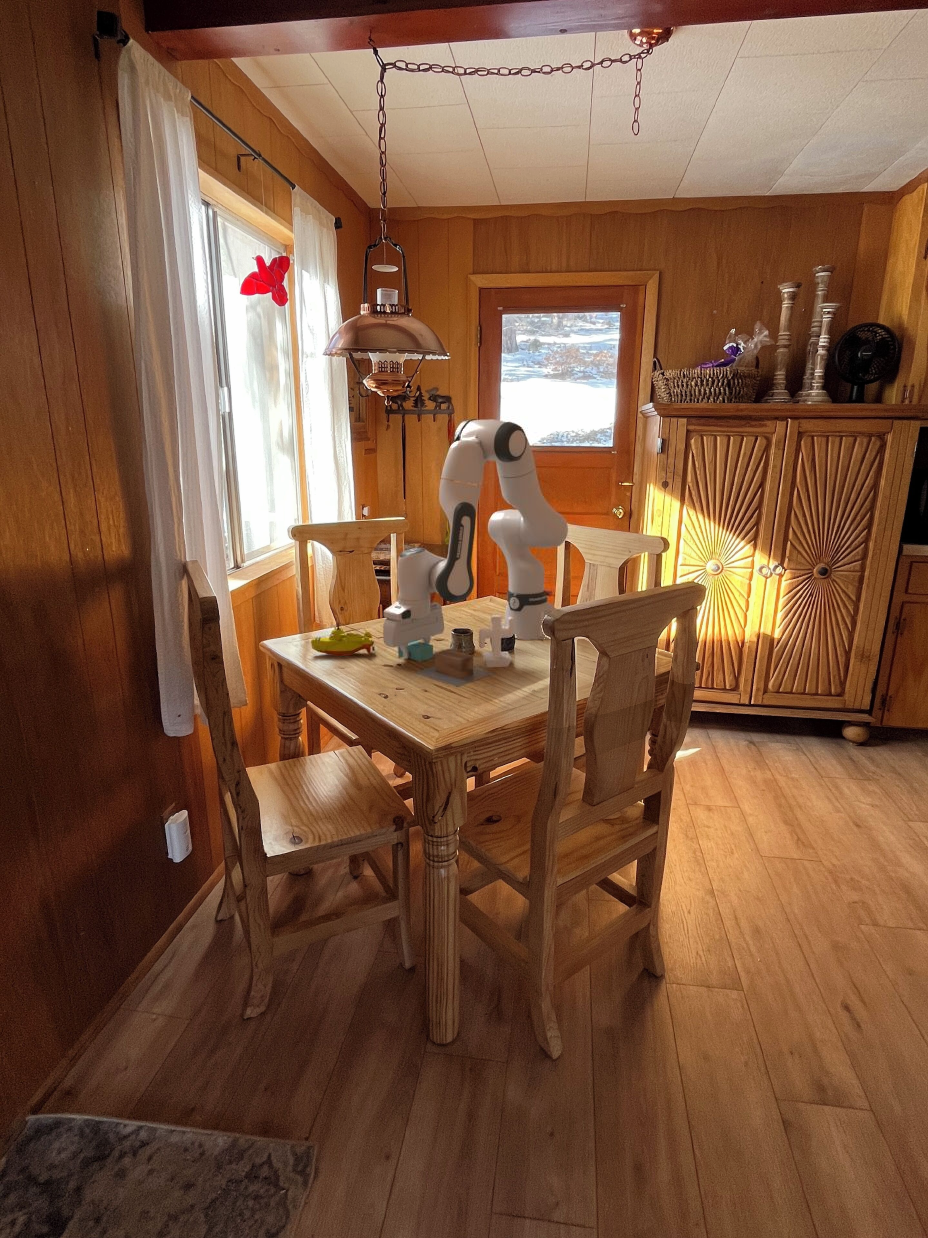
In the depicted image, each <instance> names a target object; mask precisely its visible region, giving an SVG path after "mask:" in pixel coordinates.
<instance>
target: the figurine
mask: <svg viewBox="0 0 928 1238" xmlns="http://www.w3.org/2000/svg"><path fill="white" fill-rule="evenodd" d="M502 617H503V616H502V615H500V614H493V615H491V616H490V622H491V627H482V628H480V629H479V631H478V647H479V648H480V649H484V648H485V646H486V639H491V651H489V652H488V651H485V652H481V655H482V657H483V660H484V663H485V665H486V667H487V668H505V667H507V668H508V667H509V665H510V663H511V662H512V658H511V655H510V653H509V652H508V651H502V644H501V643H502V638H503V639H504V638H510V637H512V636H513V634H514V618H513V617H509V618H508V626H507V627H502V622H503V618H502Z"/></svg>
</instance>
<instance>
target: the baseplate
mask: <svg viewBox="0 0 928 1238" xmlns="http://www.w3.org/2000/svg"><path fill="white" fill-rule="evenodd" d="M413 674H416V675H420V676H423V677H425V678H428V679H431V680H435V681H438V682H441V683H444V684H447V685H450V686H452V687H453V686H454V687H456V688H459V687H462V686H465V685H467V684H469V683H470V684H471V683H473V682H475V681H478V680H481V679H483V678H485V677H488V676H491V675H494V674H495V672H492V671H490V670H486V669H483V668H480V667H476V666H473V675H470V676H467V677H464V678H462V679H458V678H455V677H452V676H449V675H445V674H442V673H439V672H436V671H435V665H431V666H429V667H426V668H423V669H421V670H418V671H417V670H416V671H414V672H413Z"/></svg>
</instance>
